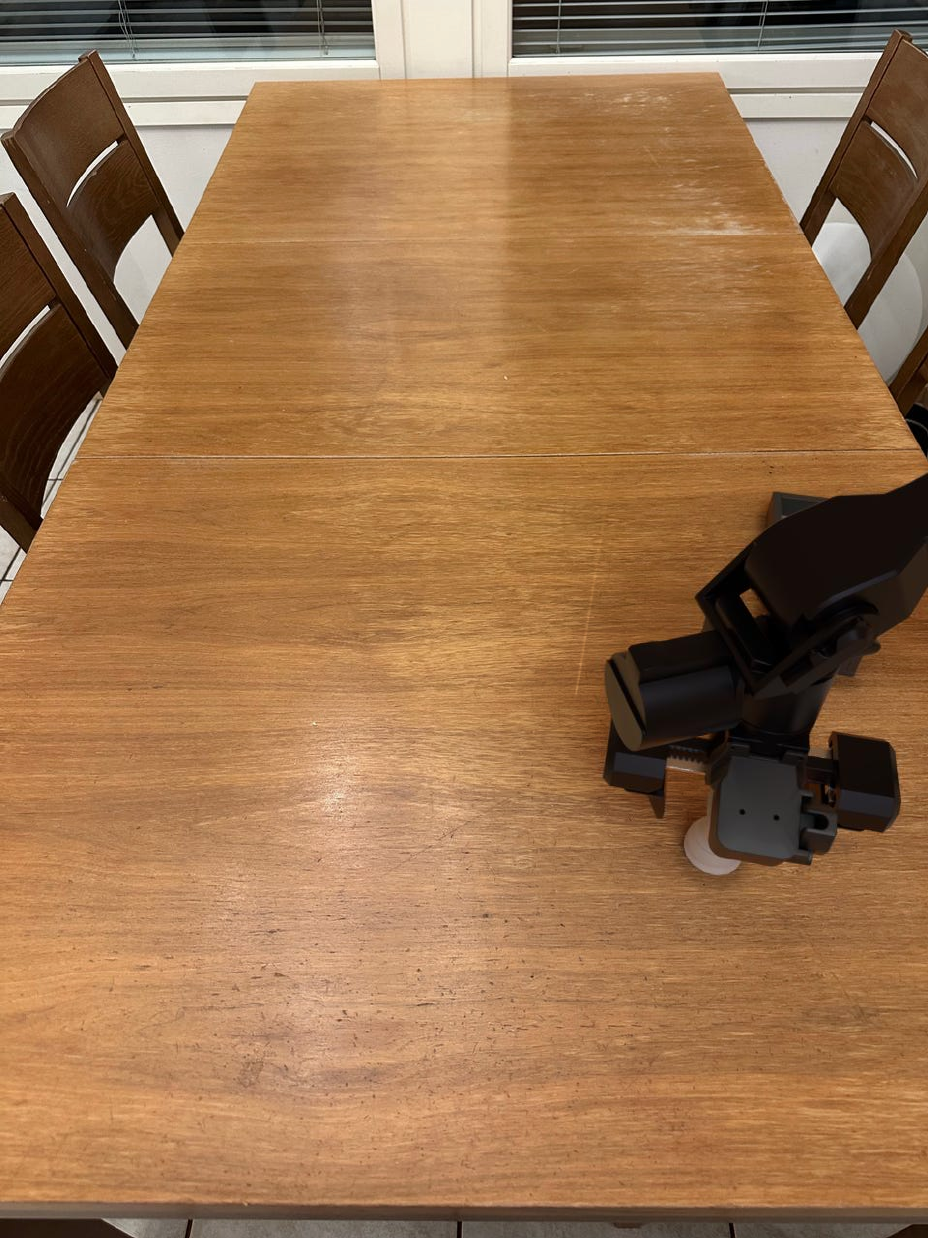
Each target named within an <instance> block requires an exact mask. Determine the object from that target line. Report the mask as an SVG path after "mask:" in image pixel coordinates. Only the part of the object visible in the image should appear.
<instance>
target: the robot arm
mask: <svg viewBox="0 0 928 1238" xmlns="http://www.w3.org/2000/svg"><path fill="white" fill-rule="evenodd" d="M828 498H829V499H827V500H824V501H822V502H820V503H817V504H815V505H813V506H810V507H808V508H805V509H803V510H801V511H798V512H796V513H794V514H791V515H789V516H787V517H784V518H782V519H780V520H778V521H776V522H775V523H773V524H771V525H770V526H768V527H767V526H766V527H765V529H763V530H762V531H761V532H760V533H759V534H757V536H755V538H754V539H752V541H750V542H749V543H748V544H747V545H746V546H745V547H744V548H743V549H742V550H741V551H740V552H739V553H738V554H737V555H736V556H735V557H734V558H733V559H732V560H730V562H728V564H726V566H724V567H723V568H722V569H721V570H720V571H719V572H718V573H717V574H716V575H715V576H713V578H712V579H711V580H710V581H709V582H708V583H706V585H704V587H702V588H701V589H700V590H699V591H698V592H697V593H695V595H694V601H695V602H696V604H697V606H698V608H699V609H700V611H701V612H702V614H703V616H704V621H703V623H702V628H701V630H700V632H697V633H692V634H689V635H688V634H687V635H683V636H679V637H674V638H669V639H664V640H663V639H662V640H651V641H645V642H640V643H635V644H631V645H630V646H629V647H628V648H627V650H622V651H617V652H615V653H612V654H611V655H610V658H609V659H606V660H605V665H604V672H603V673H604V675H603V676H604V688H605V696H606V700H607V705H608V709H609V712H610V717H609V724H608V732H607V740H606V745H605V756H604V762H603V763H604V764H603V771H602V777H601V778H602V779H603V780H604V781H605V782H606V784H607V785H608V786H609V787H613V788H617V789H618V788H619V789H623V791H625V792H627V793H631V794H636V795H642V796H646V797H647V799H648V801H649V804H650V806H651V808H652V811H653V813H654V816H655V818H656V819H657V820H663V818H664V816H665V813H666V802H667V801H666V800H667V790H668V789H667V786H668V785H667V784H668V770H670V771H674V772H675V771H676V772H682V773H689V774H693V775H694V774H695V775H701V776H704V785H705V786H709V787H710V790H711V789H713V790H714V792H713V799H712V809H711V820H710V829H709V835H708V844H709V847H710V849H711V851H712V852H713V853H714V854H715V855H716V856H718V857H721V858H725V859H733V860H739V861H741V862H745V863H751V864H757V865H760V866H765V867H772V868H774V867H778V866H780V865H782V864H783V863H789V864H796V865H800V866H806V867H810V866H811V865H812V862H813V856H814V855H816V856H821V857H822V856H825V855H826V854H828V853H829V852H830V851H831V848H832V846H833V844H834V843H835V840H836V838H837V835H838V829H839V830H845V831H851V832H857V833H861V832H864V831H867V832H868V831H869V832H874V833H880V834H883V833H884V832H886V831H888V830H889V829H890V828H892V826H893V825H894V823H895V821H896V820H897V818H898V817H899V815H900V810H901V807H902V806H901V804H902V796H901V795H902V794H901V787H900V780H899V779H900V778H899V771H898V770H899V769H898V761H897V751H896V750H895V749H894V747H893V746H892V744H891V743H890V742H889V741H887V740H886V739H884V738H879V737H875V736H874V737H873V736H867V735H862V734H861V735H860V734H854V733H847V732H843V731H835V730H831V733H830V734H829V736H828V739H827V743H828V745H827V746H828V748H829V749H827V748H822V747H815V746H811V736H810V735H811V733H812V730H813V728H814V726H815V724H816V721H817V720H818V718H819V715H820V713H821V711H822V709H823V707H824V704H825V703H826V700H827V697H828V695H829V693H830V691H831V689H832V686H833V685H834V682H835V680H836V678H837V676H838V675H837V674H838V671H839V669H840V667H841V665H842V663H844V662H845V661H847V660H848V659H852V658H857V657H861V656H863V657H865V656H871V655H875V654H877V653H879V652H880V651H881V649H882V645H881V642H879V641H878V637H880V636H881V635H883V634H885V633H887V632H889V631H890V630H892V629H893V628H895V627H896V626H898V625H899V624H901V623H902V622H904V621H905V620H908V619H909V618H910V617H911V615H912V614H913V612H914V611H915V609H916V607H917V606H918V604H919V603H920V601H921V599H922V598H923V596H924V594H925V593H926V591H927V589H928V471H927V472H925V473H923V474H922V475H920V476H918V477H916V478H915V479H913V480H911V481H909V482H907V483H905V484H903V485H901V486H898V487H896V488H893V489H891V490H889V491H886V492H884V493H866V494H865V493H864V494H863V493H861V494H839V495H834V496H832V497H828ZM749 590H751V591H752V593H753V594H754V596H755V597H756V600H757V601H758V602H759V604H760V605H761V607H762V608H763V610H764V611H765V612H764V613H762V614H759V615H757V616H755V617H754V615H753V614H752V612H751V611H750V609H749V608H748V606H747V605H746V603H745V601H744V599H743V598H742V597H741V595H743V594H744V593H746V592H748V591H749ZM706 735H708V738H705V737H702V736H706Z"/></svg>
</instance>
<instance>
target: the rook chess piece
mask: <svg viewBox="0 0 928 1238" xmlns="http://www.w3.org/2000/svg"><path fill="white" fill-rule="evenodd" d="M713 792H714V790H713V789H711V788H710V790H709V792H708V794H707V800H706V802H707V807H706V815H705V816H703V817H701V818H699V819H697V820H695V821H694V822H693V823H692V824H691V826H690V827H689V829H687V832H686V833H685V835H684V839H683V848H684V852H685V855H686V857H687V859H688V860H689V861H690V863H691V864H692V865H693V866H694V867H695V868H697V869H699V870H700V871H702V872H703V873H707V874H711V875H714V876H718V875H727V874H729V873H732V872H733V871H734V870H735V871H736V869H737V868H738V867H739V865H740V864H741V863H742V861H739V860H733V859H725V858H721V857H718V856H716V855H715V854H714V853H713V852H712V851H711V849H710V847H709V844H708V835H709V829H710V820H711V809H712V799H713Z"/></svg>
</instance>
